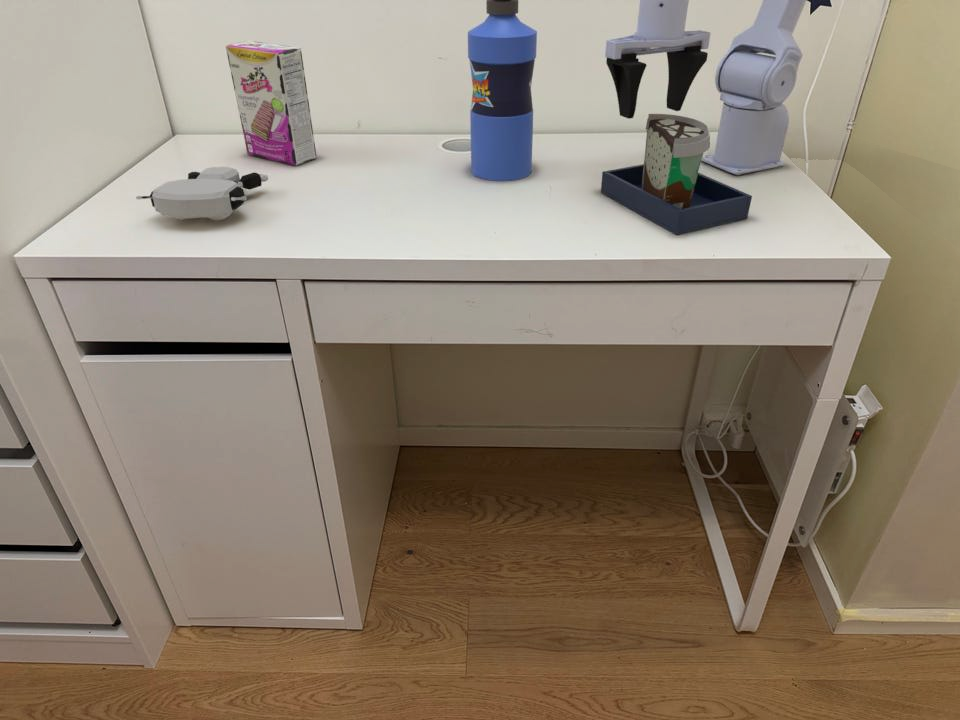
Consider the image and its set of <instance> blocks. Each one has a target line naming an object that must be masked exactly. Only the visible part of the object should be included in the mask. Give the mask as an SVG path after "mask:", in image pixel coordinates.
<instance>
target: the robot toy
mask: <svg viewBox="0 0 960 720" xmlns="http://www.w3.org/2000/svg"><path fill="white" fill-rule="evenodd" d="M239 172H240V171H238V169H237V168H234V167H230V166H211V167H206V168H204V169H203V170H202V171H201V172H199V171H191V172H188V173H187V178H186V179H176V180H170V181H166V182H165V183H163V184H161V185H160V186H157V187H155V188H154V189H153V190H152V191H151V192H150V194H149V195H136V196H135V199H136V200H146V199H150V202H151V206H152V207H153V208H154V210H155V212H157V213H159V214H161V215H162V216H166V217H170V218H171V217H172V218H174V219H176V220H179V221H180V220H181V221H185V220H190V219H198V218H200V219H201V218H209V220H212V221H223V220H226V219H227V218H228V217H230V216H231V215H232V213H233V212H234V211H237V210H238V208H239V207H241V206H242V205H244V203H245V202H246V201H247V195H245V190H244V189H246V190H253V189H256V188H259V187H262V185H263V184H262V183H265V182H267V181H268V180H269V176H268V175H267V174H262V173H258V172H250V173H247V174H244V175H242V176H241V178H240V173H239Z"/></svg>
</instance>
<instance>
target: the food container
mask: <svg viewBox="0 0 960 720" xmlns="http://www.w3.org/2000/svg"><path fill="white" fill-rule="evenodd" d="M645 130H646V138H645V148H644V159H643V164H644V168H643V179H642V190H644V191H646V192H648V193H650V194H652V195H654V196H656V197H658V198H660V199H662V200H664V201H666V202H668V203H670V204H672V205H674V206H675V207H677V208H679V209H685V208H689V207H690V204H691V200H692V196H693V191H694V187H695V183H696V179H697V175H698V173H699V171H700V167H701V163H702V161H701V159H702V157H703V155H704V153H706V152H707V151H709V150H710V148H711V134H710V131H709V127H708V126H707V124H706V123H704V122H703V121H701V120H698V119H695V118H691V117H688V116H683V115H676V114H669V113H668V114H667V113H648V116H647V119H646V125H645Z"/></svg>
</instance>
